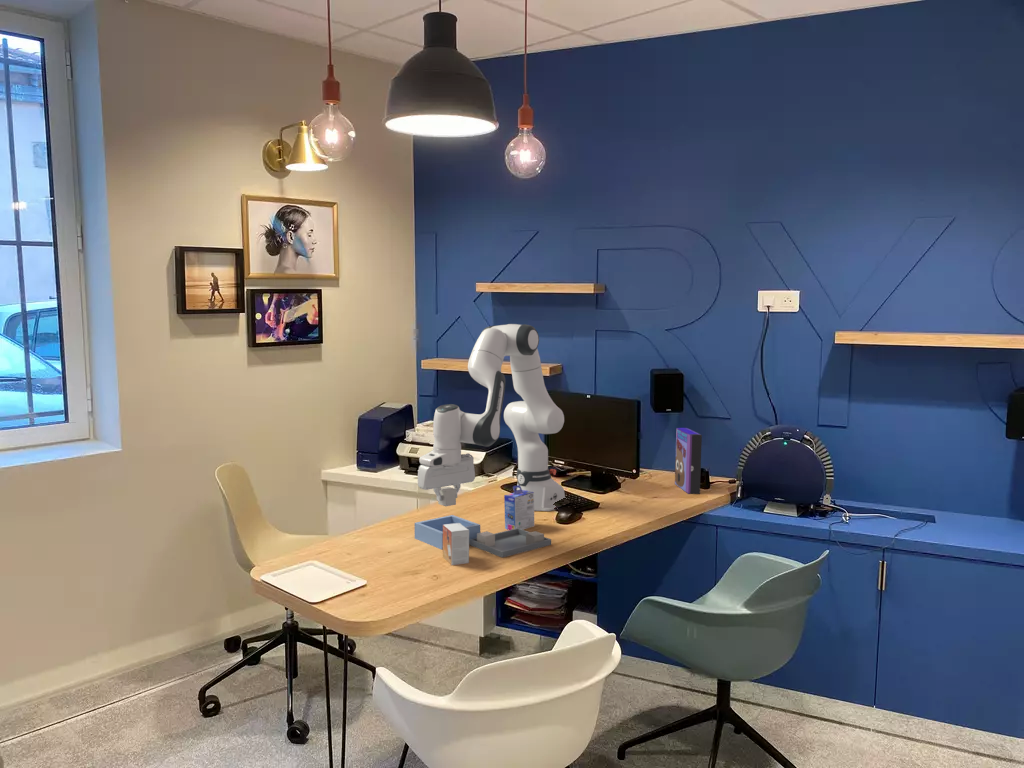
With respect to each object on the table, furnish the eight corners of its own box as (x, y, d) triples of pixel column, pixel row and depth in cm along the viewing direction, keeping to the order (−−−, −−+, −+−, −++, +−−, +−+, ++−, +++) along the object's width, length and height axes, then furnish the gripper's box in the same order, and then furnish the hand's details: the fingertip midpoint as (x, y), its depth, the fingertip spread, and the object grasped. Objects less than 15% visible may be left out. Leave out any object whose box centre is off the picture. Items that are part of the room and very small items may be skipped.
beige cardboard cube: (448, 502, 260) (448, 486, 259) (455, 504, 257) (456, 489, 256) (438, 504, 257) (438, 488, 257) (445, 506, 254) (445, 490, 253)
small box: (442, 558, 241) (442, 524, 240) (460, 556, 243) (460, 522, 242) (451, 567, 233) (451, 531, 232) (469, 564, 236) (469, 529, 234)
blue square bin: (452, 531, 269) (452, 514, 268) (480, 541, 257) (480, 524, 257) (414, 539, 259) (414, 522, 258) (441, 551, 248) (441, 533, 247)
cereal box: (674, 484, 340) (676, 427, 337) (685, 483, 340) (687, 427, 338) (688, 494, 322) (690, 434, 320) (699, 493, 323) (701, 434, 320)
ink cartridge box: (523, 524, 278) (523, 482, 277) (535, 527, 274) (535, 485, 273) (503, 530, 271) (503, 487, 269) (515, 533, 267) (515, 490, 266)
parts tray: (517, 534, 266) (517, 528, 265) (551, 546, 254) (551, 539, 253) (469, 546, 253) (469, 539, 252) (502, 559, 241) (502, 551, 240)
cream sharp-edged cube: (486, 542, 256) (486, 531, 255) (494, 545, 253) (494, 534, 252) (476, 544, 253) (476, 533, 253) (484, 547, 250) (484, 536, 250)
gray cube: (535, 541, 256) (535, 531, 256) (544, 544, 253) (544, 534, 253) (525, 544, 254) (526, 533, 253) (534, 547, 250) (534, 536, 250)
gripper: (467, 451, 264) (467, 492, 266) (414, 458, 251) (414, 502, 253) (479, 454, 260) (478, 496, 261) (426, 461, 246) (426, 506, 248)
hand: (447, 499), depth 257 cm, fingers closed on beige cardboard cube, 4 cm apart
